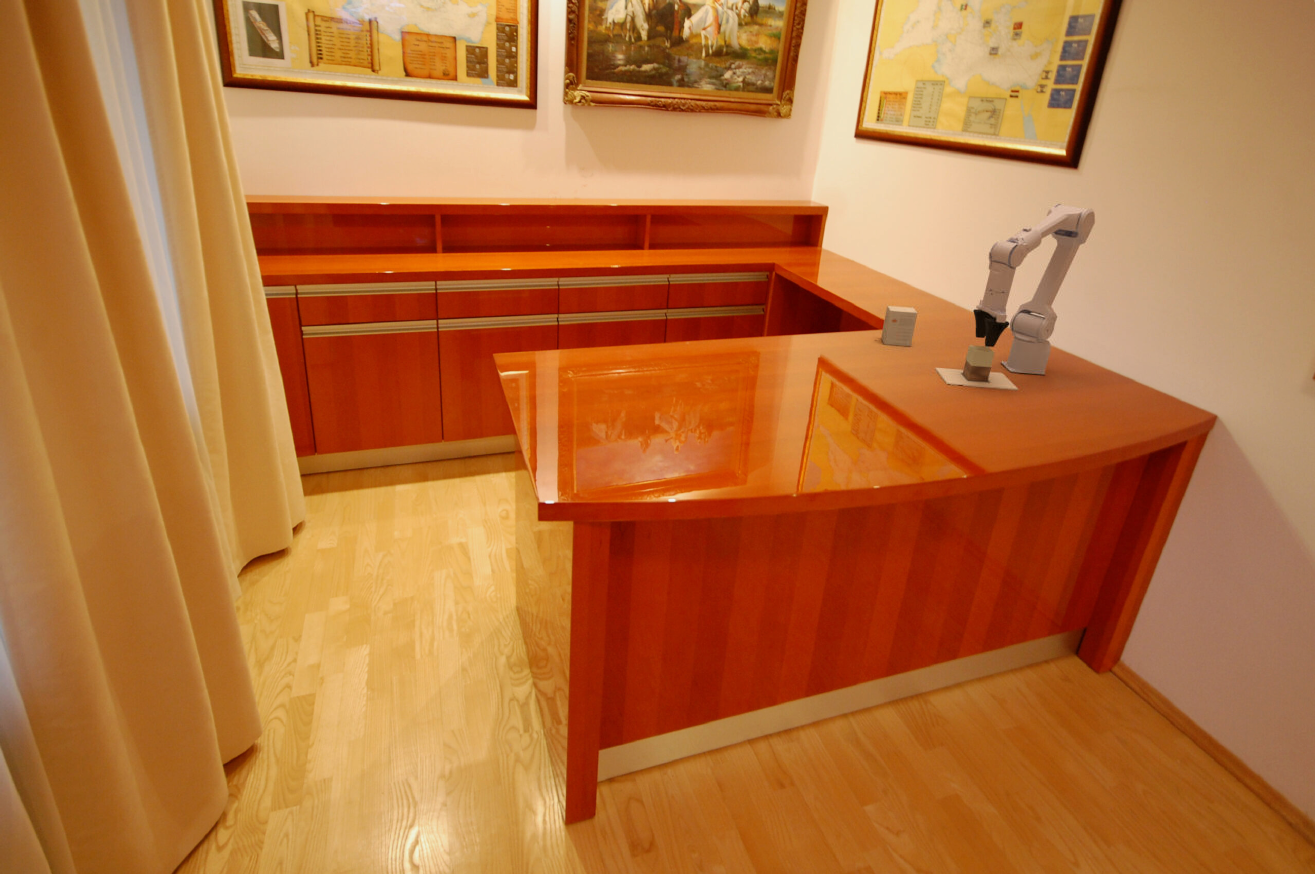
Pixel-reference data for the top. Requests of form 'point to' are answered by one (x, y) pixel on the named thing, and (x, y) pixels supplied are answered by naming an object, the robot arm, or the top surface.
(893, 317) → the small box
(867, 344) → the top surface
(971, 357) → the sage block
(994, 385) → the board
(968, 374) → the walnut block
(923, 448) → the top surface
